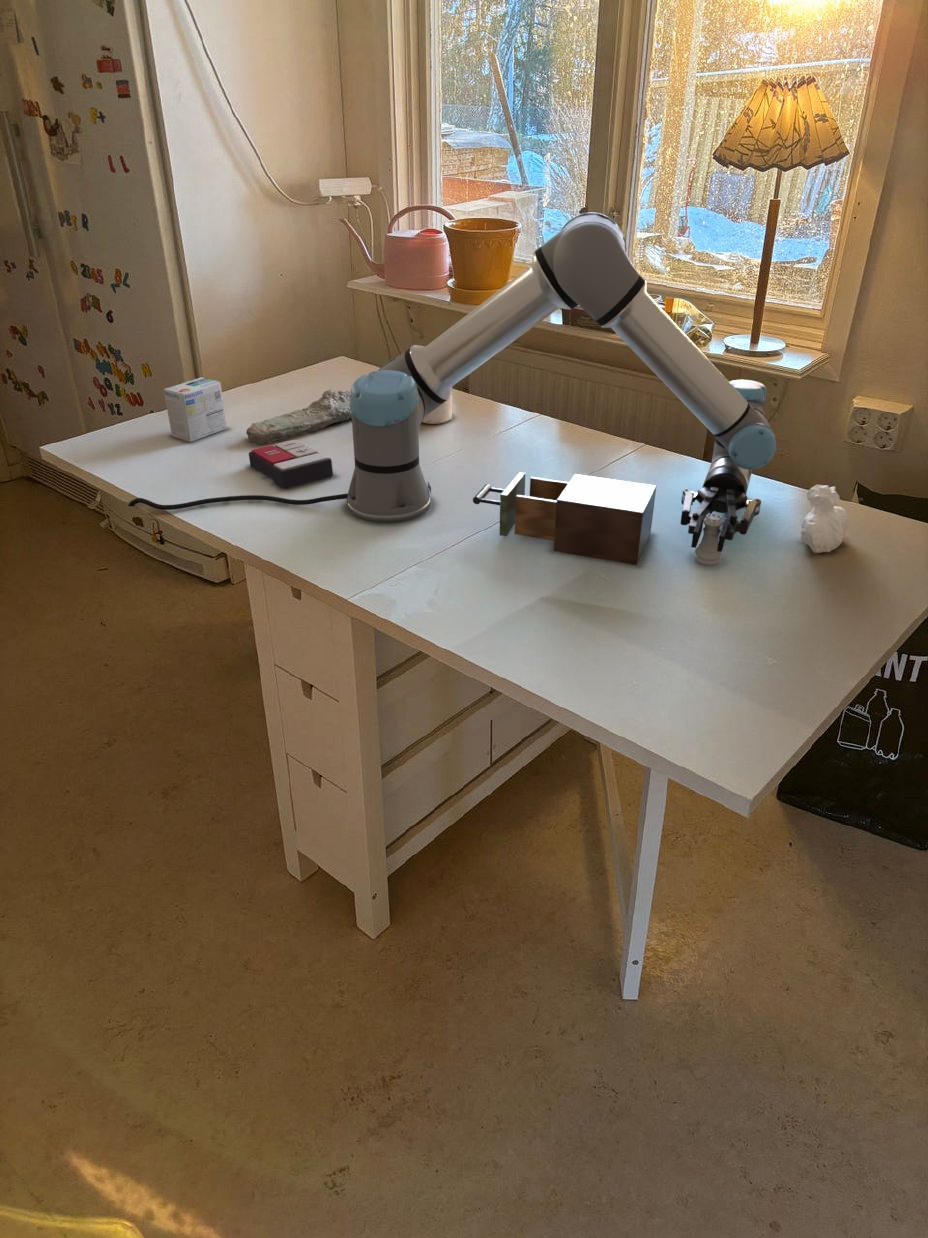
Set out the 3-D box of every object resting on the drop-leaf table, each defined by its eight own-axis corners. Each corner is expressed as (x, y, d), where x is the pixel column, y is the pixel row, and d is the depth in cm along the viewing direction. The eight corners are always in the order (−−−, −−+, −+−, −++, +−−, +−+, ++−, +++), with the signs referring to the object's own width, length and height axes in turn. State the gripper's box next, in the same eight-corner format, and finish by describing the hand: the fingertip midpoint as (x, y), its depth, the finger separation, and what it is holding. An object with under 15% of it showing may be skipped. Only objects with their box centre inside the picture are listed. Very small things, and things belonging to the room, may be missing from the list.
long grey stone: (237, 443, 198) (264, 457, 192) (233, 420, 195) (261, 434, 189) (359, 398, 218) (386, 410, 213) (357, 377, 215) (385, 388, 210)
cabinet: (553, 551, 152) (556, 499, 147) (571, 523, 161) (574, 473, 156) (637, 565, 148) (643, 512, 143) (650, 535, 157) (656, 485, 152)
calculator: (296, 437, 187) (331, 455, 177) (298, 457, 189) (334, 476, 179) (247, 448, 182) (281, 468, 171) (250, 469, 184) (283, 489, 173)
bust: (832, 543, 159) (806, 485, 159) (871, 531, 153) (844, 470, 153) (797, 566, 152) (770, 505, 152) (837, 553, 146) (809, 490, 146)
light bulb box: (208, 423, 205) (201, 375, 200) (228, 429, 202) (221, 381, 196) (170, 436, 198) (161, 387, 192) (190, 443, 194) (182, 393, 189)
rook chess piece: (690, 563, 148) (697, 519, 144) (695, 552, 152) (702, 508, 148) (718, 568, 147) (726, 524, 143) (722, 556, 150) (730, 513, 146)
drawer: (468, 530, 157) (468, 489, 153) (487, 506, 165) (488, 467, 161) (573, 547, 151) (576, 506, 147) (588, 522, 159) (591, 482, 155)
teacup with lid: (461, 416, 209) (461, 366, 203) (435, 427, 203) (434, 375, 197) (421, 406, 216) (420, 357, 209) (395, 416, 209) (394, 365, 203)
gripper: (769, 512, 160) (757, 571, 141) (676, 498, 165) (652, 554, 146) (777, 472, 156) (766, 528, 137) (681, 459, 161) (658, 512, 142)
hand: (707, 541), depth 142 cm, fingers closed on rook chess piece, 3 cm apart
